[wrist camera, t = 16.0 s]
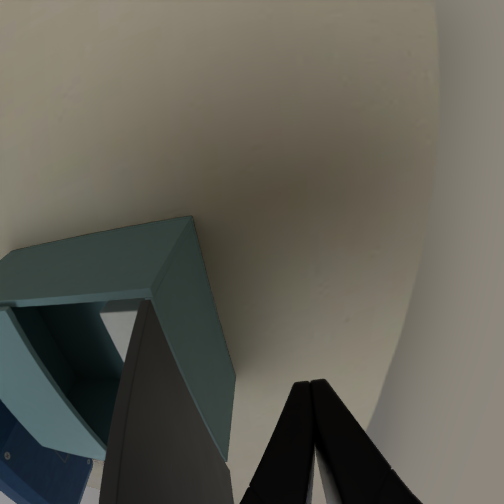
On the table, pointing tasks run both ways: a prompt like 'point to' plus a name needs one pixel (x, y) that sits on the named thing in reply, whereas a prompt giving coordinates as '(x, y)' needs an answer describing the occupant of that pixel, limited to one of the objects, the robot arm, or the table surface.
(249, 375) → the table surface
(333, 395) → the robot arm
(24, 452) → the radio
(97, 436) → the teal storage bin
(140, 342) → the hatch
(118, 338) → the gray rectangular box
